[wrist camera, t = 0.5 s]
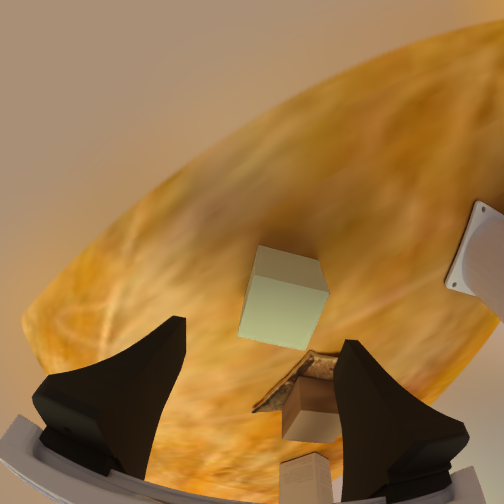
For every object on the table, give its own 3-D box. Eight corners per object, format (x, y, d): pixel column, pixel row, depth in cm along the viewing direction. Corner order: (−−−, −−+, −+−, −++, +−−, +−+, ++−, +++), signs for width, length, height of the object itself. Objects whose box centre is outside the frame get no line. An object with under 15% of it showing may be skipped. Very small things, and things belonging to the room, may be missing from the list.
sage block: (318, 259, 21) (329, 292, 16) (299, 310, 22) (304, 350, 18) (258, 244, 20) (253, 274, 16) (244, 297, 22) (237, 336, 17)
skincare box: (295, 470, 33) (295, 537, 21) (277, 462, 32) (275, 534, 20) (331, 458, 31) (337, 529, 20) (315, 449, 30) (320, 527, 19)
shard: (252, 403, 28) (251, 415, 26) (236, 352, 25) (234, 365, 23) (352, 390, 26) (355, 403, 24) (355, 337, 24) (359, 349, 22)
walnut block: (348, 382, 23) (356, 414, 20) (327, 413, 25) (331, 443, 21) (298, 376, 23) (300, 410, 20) (282, 407, 25) (281, 439, 21)
